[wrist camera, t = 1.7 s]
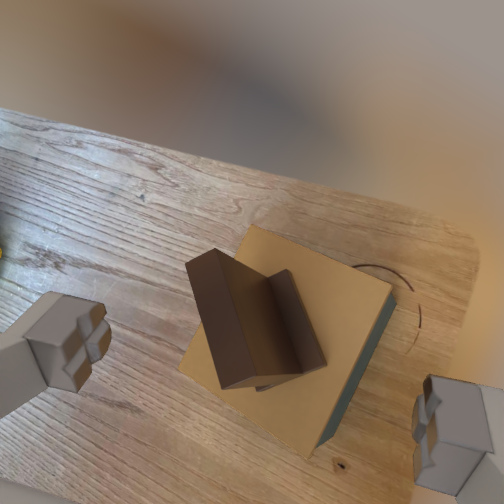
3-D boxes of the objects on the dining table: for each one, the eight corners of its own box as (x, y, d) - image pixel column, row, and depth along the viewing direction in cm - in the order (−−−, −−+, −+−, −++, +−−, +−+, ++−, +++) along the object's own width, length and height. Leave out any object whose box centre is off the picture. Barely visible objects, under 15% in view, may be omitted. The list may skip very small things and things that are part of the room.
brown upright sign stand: (328, 365, 27) (285, 364, 19) (261, 391, 28) (195, 400, 20) (290, 271, 30) (239, 235, 22) (231, 298, 31) (162, 274, 23)
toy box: (400, 302, 34) (392, 284, 27) (333, 440, 33) (307, 460, 26) (283, 249, 39) (250, 223, 32) (223, 368, 38) (176, 369, 31)
